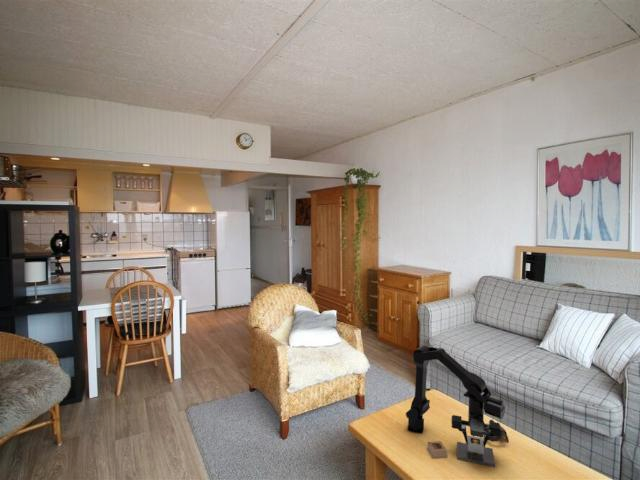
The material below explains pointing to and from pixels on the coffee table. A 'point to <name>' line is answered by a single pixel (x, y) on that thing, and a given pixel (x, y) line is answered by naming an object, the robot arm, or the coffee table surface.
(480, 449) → the grey square frame
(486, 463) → the keeper
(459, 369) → the robot arm
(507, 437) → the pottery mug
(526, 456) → the coffee table surface
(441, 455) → the brown hollow square block
